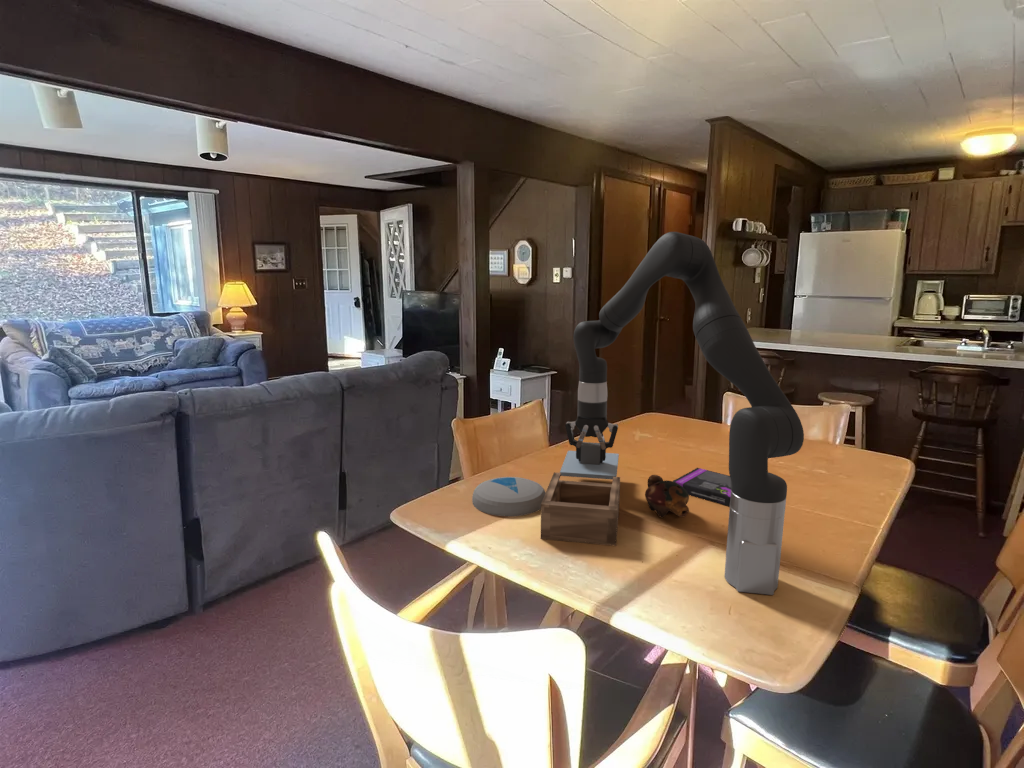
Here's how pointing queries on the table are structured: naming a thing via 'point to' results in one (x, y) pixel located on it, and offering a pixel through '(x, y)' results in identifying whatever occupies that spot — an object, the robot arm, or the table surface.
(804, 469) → the table surface
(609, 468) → the lid
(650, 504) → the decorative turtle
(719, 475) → the box
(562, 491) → the walnut box
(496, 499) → the grey thick disc
